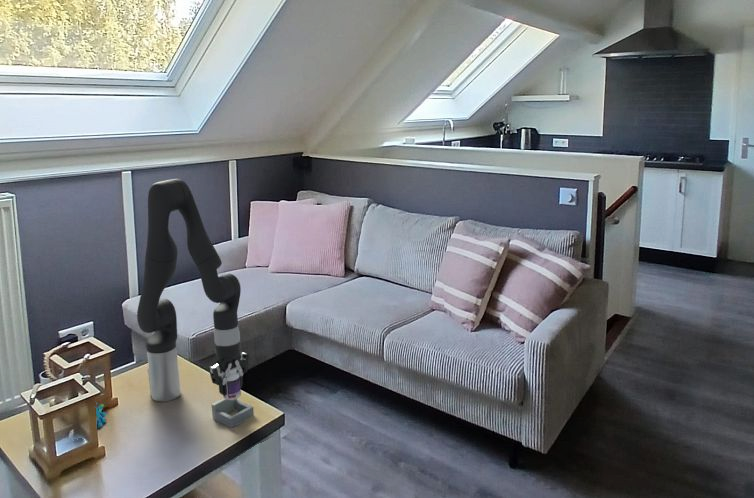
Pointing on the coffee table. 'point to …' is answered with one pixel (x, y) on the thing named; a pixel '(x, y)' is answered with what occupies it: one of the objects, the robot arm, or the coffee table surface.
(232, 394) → the pill bottle
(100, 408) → the blue lumpy piece
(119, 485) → the coffee table surface
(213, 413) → the dock
